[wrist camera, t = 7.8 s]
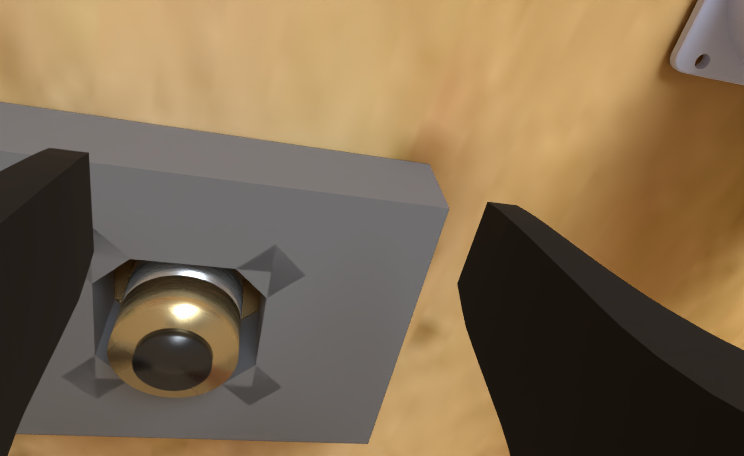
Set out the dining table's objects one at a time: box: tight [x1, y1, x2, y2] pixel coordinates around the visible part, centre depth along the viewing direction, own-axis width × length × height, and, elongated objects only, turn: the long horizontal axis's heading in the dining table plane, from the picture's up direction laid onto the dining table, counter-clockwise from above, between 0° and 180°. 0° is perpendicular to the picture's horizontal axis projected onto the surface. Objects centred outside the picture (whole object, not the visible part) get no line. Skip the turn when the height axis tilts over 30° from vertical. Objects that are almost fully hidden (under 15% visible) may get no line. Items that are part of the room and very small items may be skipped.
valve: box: [107, 260, 244, 398], centre depth 20 cm, size 4×4×5 cm
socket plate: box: [0, 102, 449, 444], centre depth 21 cm, size 16×12×3 cm
